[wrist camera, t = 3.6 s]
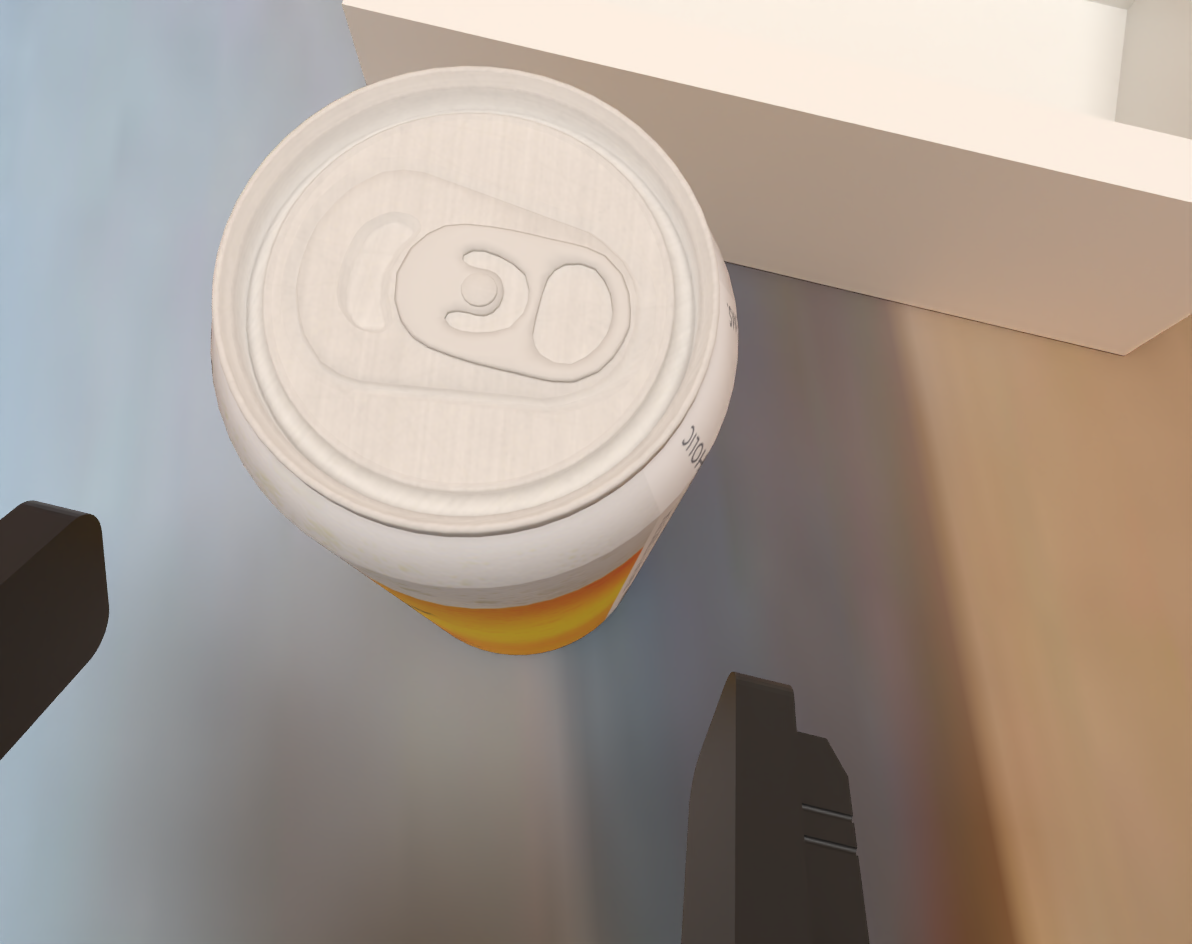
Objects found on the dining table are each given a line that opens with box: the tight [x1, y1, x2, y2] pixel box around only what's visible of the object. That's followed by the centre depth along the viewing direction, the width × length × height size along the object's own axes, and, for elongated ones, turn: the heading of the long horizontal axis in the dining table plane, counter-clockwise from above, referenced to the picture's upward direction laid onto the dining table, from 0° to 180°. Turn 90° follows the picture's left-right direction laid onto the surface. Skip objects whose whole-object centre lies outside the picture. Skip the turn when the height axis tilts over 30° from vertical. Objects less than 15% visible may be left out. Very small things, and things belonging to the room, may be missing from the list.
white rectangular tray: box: [342, 0, 1192, 356], centre depth 25 cm, size 21×12×7 cm, turn 76°
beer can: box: [211, 66, 738, 655], centre depth 17 cm, size 6×6×15 cm
